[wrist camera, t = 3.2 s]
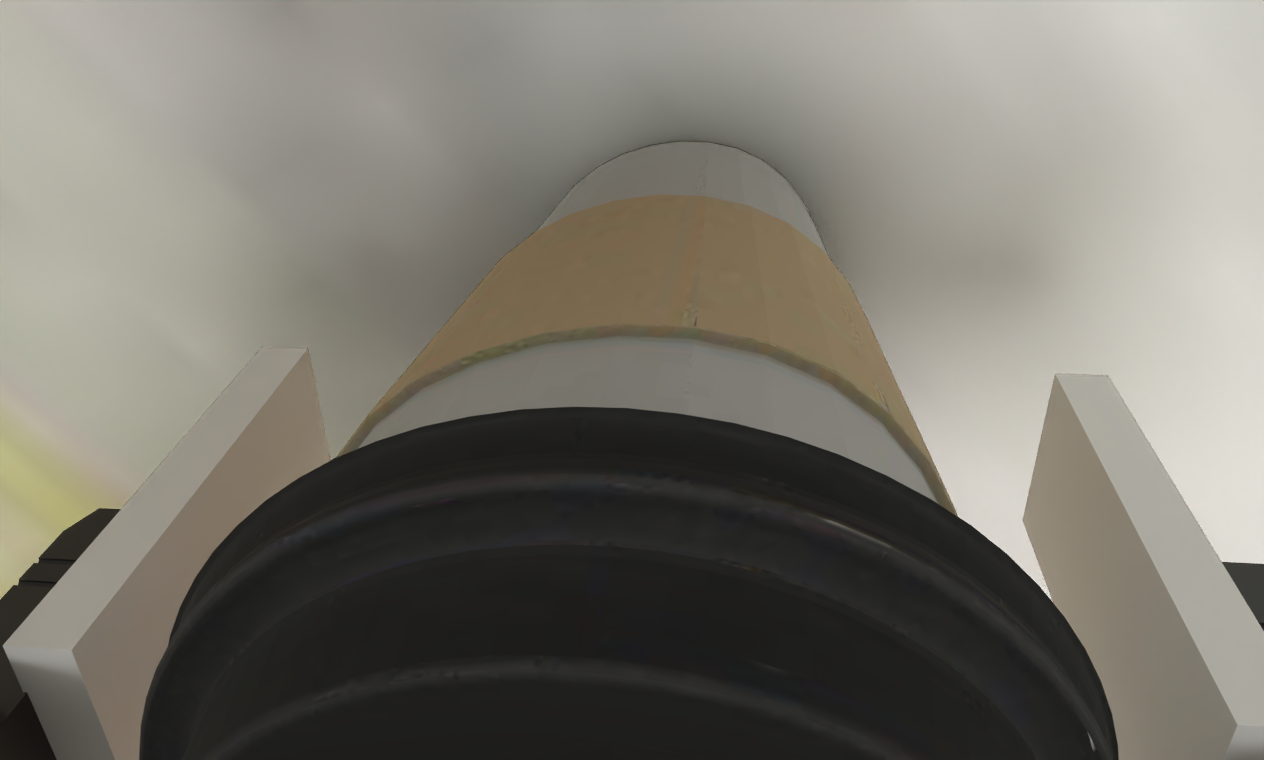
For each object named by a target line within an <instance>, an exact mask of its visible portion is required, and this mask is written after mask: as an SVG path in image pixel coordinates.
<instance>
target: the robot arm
mask: <svg viewBox="0 0 1264 760" xmlns="http://www.w3.org/2000/svg"><path fill="white" fill-rule="evenodd" d="M329 461H330V456H329V451H328V446H327V441H326V436H325V431H324V426H323V421H322V416H321V411H320V406H319V401H318V396H317V391H316V386H315V381H314V376H313V371H312V366H311V361H310V356H309V351H308V348H283V347H261V349H260V350H259V351H258V352H257V353H256V354H255V356H254V357H253V358H252V359H251V360H250V361H249V362H248V364H247V365H246V366H245V367H244V368H243V369H242V370H241V372H240V373H239V374H238V375H237V376H236V377H235V379H234V380H233V381H232V382H231V383H230V384H229V385H228V387H227V388H226V389H225V390H224V391H223V392H222V394H221V395H220V396H219V397H218V398H217V399H216V400H215V402H214V403H213V404H212V405H211V406H210V407H209V408H208V410H207V411H206V412H205V413H204V414H203V415H202V417H201V418H200V419H199V420H198V421H197V422H196V423H195V425H194V426H193V427H192V428H191V429H190V430H189V432H188V433H187V434H186V435H185V436H184V437H183V438H182V440H181V441H180V442H179V443H178V444H177V445H176V447H175V448H174V449H173V450H172V451H171V452H170V453H169V455H168V456H167V457H166V458H165V459H164V460H163V461H162V463H161V464H160V465H159V466H158V467H157V468H156V470H155V471H154V472H153V473H152V474H151V475H150V476H149V478H148V479H147V480H146V481H145V482H144V483H143V485H142V486H141V487H140V488H139V489H138V490H137V491H136V493H135V494H134V495H133V496H132V497H131V498H130V499H129V501H128V502H127V503H126V504H125V505H124V506H123V508H122V509H103V508H99V509H97V510H96V511H94V512H93V513H91V514H90V515H88V516H86V517H85V518H83V519H82V520H80V521H79V522H77V523H75V524H74V525H72V526H71V527H69V528H68V529H66V530H64V531H63V532H62V533H61V534H60V535H59V537H58V538H57V539H56V540H55V541H54V542H53V543H52V544H51V545H50V546H49V547H48V549H47V550H46V551H45V552H44V553H43V554H42V555H41V556H40V557H39V562H38V563H34V564H33V565H32V566H31V567H30V568H29V569H28V570H27V571H26V572H25V574H24V575H23V576H22V577H21V578H20V579H19V584H18V585H13V587H12V588H11V589H10V590H9V591H8V592H7V593H6V594H5V595H4V596H3V597H2V599H1V600H0V760H139V749H140V729H141V721H142V716H143V711H144V706H145V701H146V696H147V693H148V691H149V688H150V685H151V682H152V679H153V676H154V673H155V671H156V668H157V666H158V664H159V662H160V660H161V659H162V657H163V655H164V653H165V651H166V649H167V647H168V644H169V639H170V634H171V632H172V629H173V626H174V623H175V620H176V617H177V614H178V611H179V609H180V606H181V604H182V602H183V600H184V598H185V596H186V594H187V592H188V590H189V588H190V587H191V585H192V583H193V581H194V579H195V577H196V576H197V574H198V573H199V571H200V570H201V569H202V567H203V566H204V564H205V563H206V561H207V560H208V559H209V557H210V556H211V554H212V553H213V551H214V550H215V549H216V548H217V547H218V546H219V545H220V544H221V543H222V541H223V540H224V539H225V538H226V537H227V536H228V535H229V534H230V533H231V532H232V530H233V529H234V528H235V527H236V526H237V525H238V524H239V523H240V522H242V521H243V520H244V519H245V518H246V517H247V516H248V515H250V514H251V513H252V512H253V511H254V510H255V509H256V508H258V507H259V506H260V505H261V504H262V503H263V502H264V501H266V500H267V499H268V498H270V497H271V496H273V495H274V494H276V493H277V492H279V491H280V490H282V489H283V488H285V487H286V486H287V485H289V484H290V483H292V482H293V481H295V480H296V479H298V478H299V477H301V476H303V475H305V474H307V473H309V472H310V471H312V470H314V469H316V468H318V467H320V466H322V465H323V464H325V463H327V462H329ZM1023 522H1024V525H1025V528H1026V530H1027V533H1028V536H1029V539H1030V541H1031V544H1032V547H1033V549H1034V552H1035V555H1036V557H1037V560H1038V563H1039V565H1040V568H1041V571H1042V574H1043V576H1044V579H1045V582H1046V584H1047V587H1048V590H1049V592H1050V595H1051V598H1052V600H1053V603H1054V605H1055V606H1056V607H1057V608H1058V609H1059V611H1060V612H1061V613H1062V614H1063V615H1064V617H1065V618H1066V620H1067V621H1068V623H1069V624H1070V626H1071V628H1072V629H1073V631H1074V632H1075V634H1076V635H1077V637H1078V638H1079V640H1080V641H1081V643H1082V645H1083V646H1084V648H1085V649H1086V651H1087V653H1088V655H1089V657H1090V660H1091V662H1092V664H1093V666H1094V668H1095V670H1096V672H1097V674H1098V676H1099V678H1100V680H1101V682H1102V685H1103V688H1104V691H1105V694H1106V697H1107V700H1108V703H1109V706H1110V709H1111V712H1112V716H1113V722H1114V727H1115V732H1116V738H1117V743H1118V755H1119V760H1264V564H1251V563H1231V562H1221V560H1220V559H1219V557H1218V555H1217V554H1216V552H1215V550H1214V549H1213V547H1212V545H1211V544H1210V542H1209V540H1208V539H1207V537H1206V535H1205V534H1204V532H1203V531H1202V529H1201V527H1200V526H1199V524H1198V522H1197V521H1196V519H1195V517H1194V516H1193V514H1192V512H1191V511H1190V509H1189V508H1188V506H1187V504H1186V503H1185V501H1184V499H1183V498H1182V496H1181V494H1180V493H1179V491H1178V489H1177V488H1176V486H1175V484H1174V483H1173V481H1172V480H1171V478H1170V476H1169V475H1168V473H1167V471H1166V470H1165V468H1164V466H1163V465H1162V463H1161V461H1160V460H1159V458H1158V457H1157V455H1156V453H1155V452H1154V450H1153V448H1152V447H1151V445H1150V443H1149V442H1148V440H1147V438H1146V437H1145V435H1144V433H1143V432H1142V430H1141V429H1140V427H1139V425H1138V424H1137V422H1136V420H1135V419H1134V417H1133V415H1132V414H1131V412H1130V410H1129V409H1128V407H1127V406H1126V404H1125V402H1124V401H1123V399H1122V397H1121V396H1120V394H1119V392H1118V391H1117V389H1116V387H1115V386H1114V384H1113V382H1112V381H1111V379H1110V378H1109V376H1108V375H1079V374H1055V376H1054V381H1053V385H1052V390H1051V394H1050V399H1049V404H1048V408H1047V413H1046V417H1045V422H1044V426H1043V431H1042V435H1041V440H1040V444H1039V449H1038V453H1037V458H1036V462H1035V467H1034V471H1033V476H1032V480H1031V485H1030V489H1029V494H1028V498H1027V503H1026V507H1025V512H1024V516H1023Z"/></svg>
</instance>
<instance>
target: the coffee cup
mask: <svg viewBox="0 0 1264 760" xmlns="http://www.w3.org/2000/svg"><path fill="white" fill-rule="evenodd" d="M139 760H1119V755H1118V743H1117V738H1116V732H1115V727H1114V722H1113V716H1112V712H1111V709H1110V706H1109V703H1108V700H1107V697H1106V694H1105V691H1104V688H1103V685H1102V682H1101V680H1100V678H1099V676H1098V674H1097V672H1096V670H1095V668H1094V666H1093V664H1092V662H1091V660H1090V657H1089V655H1088V653H1087V651H1086V649H1085V648H1084V646H1083V645H1082V643H1081V641H1080V640H1079V638H1078V637H1077V635H1076V634H1075V632H1074V631H1073V629H1072V628H1071V626H1070V624H1069V623H1068V621H1067V620H1066V618H1065V617H1064V615H1063V614H1062V613H1061V612H1060V611H1059V609H1058V608H1057V607H1056V606H1055V605H1054V603H1053V602H1052V601H1051V600H1050V599H1049V597H1048V596H1047V595H1046V594H1045V593H1044V591H1043V590H1042V589H1041V588H1040V587H1039V585H1038V584H1037V583H1036V582H1035V581H1034V580H1033V579H1032V578H1031V577H1029V576H1028V575H1027V574H1026V573H1025V572H1024V571H1023V570H1022V569H1021V568H1020V567H1019V566H1018V565H1017V564H1016V563H1015V562H1014V561H1013V560H1012V559H1011V558H1010V557H1009V556H1008V555H1007V554H1006V553H1005V552H1004V551H1002V550H1001V549H1000V548H999V547H997V546H996V545H995V544H994V543H992V542H991V541H990V540H989V539H987V538H986V537H985V536H984V535H982V534H981V533H980V532H979V531H977V530H976V529H975V528H974V527H972V526H971V525H969V524H968V523H966V522H965V521H963V520H962V519H960V518H959V517H957V513H956V510H955V508H954V506H953V504H952V501H951V499H950V497H949V495H948V493H947V491H946V488H945V486H944V484H943V482H942V480H941V478H940V475H939V473H938V471H937V469H936V467H935V465H934V462H933V460H932V458H931V456H930V454H929V452H928V449H927V447H926V445H925V443H924V441H923V439H922V436H921V434H920V432H919V430H918V428H917V426H916V423H915V421H914V419H913V417H912V415H911V413H910V411H909V408H908V406H907V404H906V402H905V400H904V398H903V395H902V393H901V391H900V389H899V387H898V385H897V382H896V380H895V378H894V376H893V374H892V372H891V369H890V367H889V365H888V363H887V361H886V359H885V356H884V354H883V352H882V350H881V348H880V346H879V343H878V341H877V339H876V337H875V335H874V333H873V330H872V328H871V326H870V324H869V322H868V320H867V318H866V316H865V314H864V312H863V310H862V308H861V306H860V304H859V302H858V300H857V298H856V296H855V293H854V291H853V289H852V287H851V285H850V283H849V282H848V281H847V280H846V278H845V277H844V276H843V275H842V273H841V272H840V271H839V270H838V268H837V267H836V266H835V265H834V263H833V262H832V261H831V260H830V258H829V256H828V254H827V251H826V249H825V247H824V245H823V243H822V240H821V238H820V236H819V234H818V232H817V229H816V227H815V225H814V223H813V221H812V219H811V217H810V215H809V213H808V211H807V209H806V207H805V205H804V203H803V201H802V200H801V198H800V197H799V196H798V194H797V193H796V192H795V191H794V189H793V188H792V187H791V186H790V184H789V183H788V182H787V180H786V179H785V178H784V177H783V176H782V175H780V174H779V173H778V172H777V171H775V170H774V169H773V168H772V167H770V166H769V165H768V164H767V163H765V162H764V161H763V160H761V159H759V158H757V157H754V156H752V155H750V154H748V153H746V152H744V151H741V150H739V149H737V148H732V147H728V146H723V145H719V144H714V143H710V142H681V141H679V142H672V143H665V144H658V145H651V146H647V147H644V148H641V149H638V150H634V151H631V152H628V153H625V154H622V155H620V156H618V157H616V158H614V159H612V160H610V161H608V162H607V163H605V164H603V165H601V166H599V167H597V168H596V169H595V170H593V171H592V172H591V173H590V174H588V175H587V176H586V177H585V178H583V179H582V180H581V181H580V182H578V183H577V184H576V185H575V186H574V187H573V188H572V189H571V190H570V192H569V193H568V194H567V195H566V196H565V198H564V199H563V200H562V201H561V202H560V203H559V205H558V206H557V207H556V208H555V209H554V211H553V212H552V213H551V214H550V215H549V217H548V218H547V219H546V220H545V221H544V223H543V224H542V225H541V226H540V227H539V229H538V230H537V231H536V232H534V233H533V234H531V235H530V236H529V237H528V238H526V239H525V240H524V241H523V242H521V243H520V244H519V245H518V246H516V247H515V248H514V249H513V250H511V251H510V252H509V253H508V254H506V255H505V256H504V257H503V258H502V259H501V260H500V261H499V262H498V263H497V264H496V265H495V267H494V268H493V269H492V270H491V271H490V272H489V274H488V275H487V276H486V277H485V278H484V279H483V281H482V282H481V283H480V284H479V285H478V286H477V288H476V289H475V290H474V291H473V292H472V294H471V295H470V296H469V297H468V298H467V299H466V301H465V302H464V303H463V304H462V305H461V306H460V308H459V309H458V310H457V311H456V312H455V313H454V315H453V316H452V317H451V318H450V319H449V321H448V322H447V323H446V324H445V325H444V326H443V328H442V329H441V330H440V331H439V332H438V333H437V335H436V336H435V337H434V338H433V339H432V340H431V342H430V343H429V344H428V345H427V346H426V347H425V349H424V350H423V351H422V352H421V353H420V355H419V356H418V357H417V358H416V359H415V360H414V362H413V363H412V364H411V365H410V366H409V367H408V369H407V370H406V371H405V372H404V373H403V374H402V376H401V377H400V378H399V379H398V380H397V382H396V383H395V384H394V385H393V386H392V387H391V389H390V390H389V391H388V392H387V393H386V394H385V396H384V397H383V398H382V399H381V400H380V401H379V403H378V404H377V405H376V406H375V407H374V409H373V410H372V411H371V412H370V413H369V415H368V416H367V417H366V419H365V420H364V421H363V423H362V424H361V425H360V427H359V428H358V429H357V431H356V432H355V433H354V435H353V436H352V437H351V439H350V440H349V441H348V443H347V444H346V445H345V447H344V448H343V449H342V451H341V452H340V453H339V455H338V456H337V458H335V459H333V460H331V461H329V462H327V463H325V464H323V465H322V466H320V467H318V468H316V469H314V470H312V471H310V472H309V473H307V474H305V475H303V476H301V477H299V478H298V479H296V480H295V481H293V482H292V483H290V484H289V485H287V486H286V487H285V488H283V489H282V490H280V491H279V492H277V493H276V494H274V495H273V496H271V497H270V498H268V499H267V500H266V501H264V502H263V503H262V504H261V505H260V506H259V507H258V508H256V509H255V510H254V511H253V512H252V513H251V514H250V515H248V516H247V517H246V518H245V519H244V520H243V521H242V522H240V523H239V524H238V525H237V526H236V527H235V528H234V529H233V530H232V532H231V533H230V534H229V535H228V536H227V537H226V538H225V539H224V540H223V541H222V543H221V544H220V545H219V546H218V547H217V548H216V549H215V550H214V551H213V553H212V554H211V556H210V557H209V559H208V560H207V561H206V563H205V564H204V566H203V567H202V569H201V570H200V571H199V573H198V574H197V576H196V577H195V579H194V581H193V583H192V585H191V587H190V588H189V590H188V592H187V594H186V596H185V598H184V600H183V602H182V604H181V606H180V609H179V611H178V614H177V617H176V620H175V623H174V626H173V629H172V632H171V634H170V639H169V644H168V647H167V649H166V651H165V653H164V655H163V657H162V659H161V660H160V662H159V664H158V666H157V668H156V671H155V673H154V676H153V679H152V682H151V685H150V688H149V691H148V693H147V696H146V701H145V706H144V711H143V716H142V721H141V729H140V749H139Z"/></svg>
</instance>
